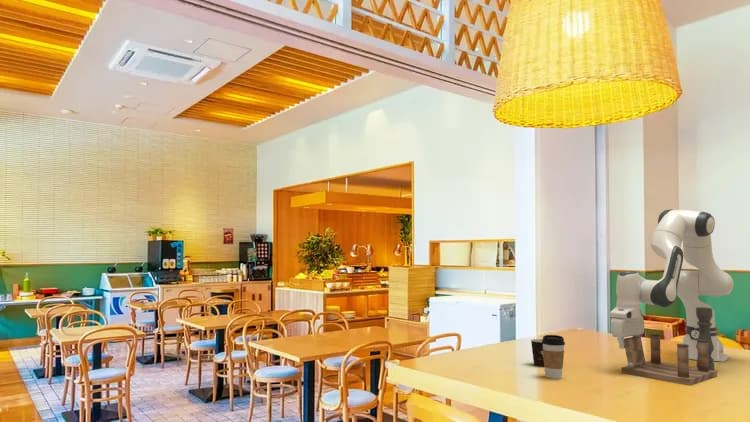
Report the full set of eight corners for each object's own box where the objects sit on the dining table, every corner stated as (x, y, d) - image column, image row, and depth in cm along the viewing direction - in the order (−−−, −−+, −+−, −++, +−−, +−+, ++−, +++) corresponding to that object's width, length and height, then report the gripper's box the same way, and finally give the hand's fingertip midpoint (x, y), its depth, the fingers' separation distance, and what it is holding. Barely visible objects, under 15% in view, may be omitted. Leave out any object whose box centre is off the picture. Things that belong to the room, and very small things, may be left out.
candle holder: (717, 373, 221) (715, 309, 223) (699, 372, 223) (698, 308, 224) (711, 369, 227) (709, 307, 229) (694, 369, 229) (692, 306, 230)
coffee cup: (565, 375, 213) (565, 335, 214) (565, 380, 205) (564, 338, 206) (542, 373, 216) (542, 334, 217) (541, 378, 208) (541, 337, 209)
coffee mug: (529, 366, 229) (529, 341, 230) (532, 362, 237) (532, 338, 238) (559, 369, 225) (559, 343, 226) (561, 365, 233) (561, 340, 234)
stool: (651, 365, 235) (650, 332, 236) (717, 376, 216) (716, 340, 217) (621, 372, 219) (620, 337, 220) (689, 385, 200) (688, 346, 201)
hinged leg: (641, 364, 224) (635, 336, 226) (646, 364, 223) (640, 336, 225) (628, 367, 218) (623, 338, 220) (633, 367, 216) (628, 338, 218)
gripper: (633, 309, 233) (633, 343, 232) (607, 312, 220) (607, 348, 219) (648, 311, 228) (648, 346, 227) (623, 314, 215) (623, 351, 214)
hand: (628, 347), depth 223 cm, fingers open, 8 cm apart
